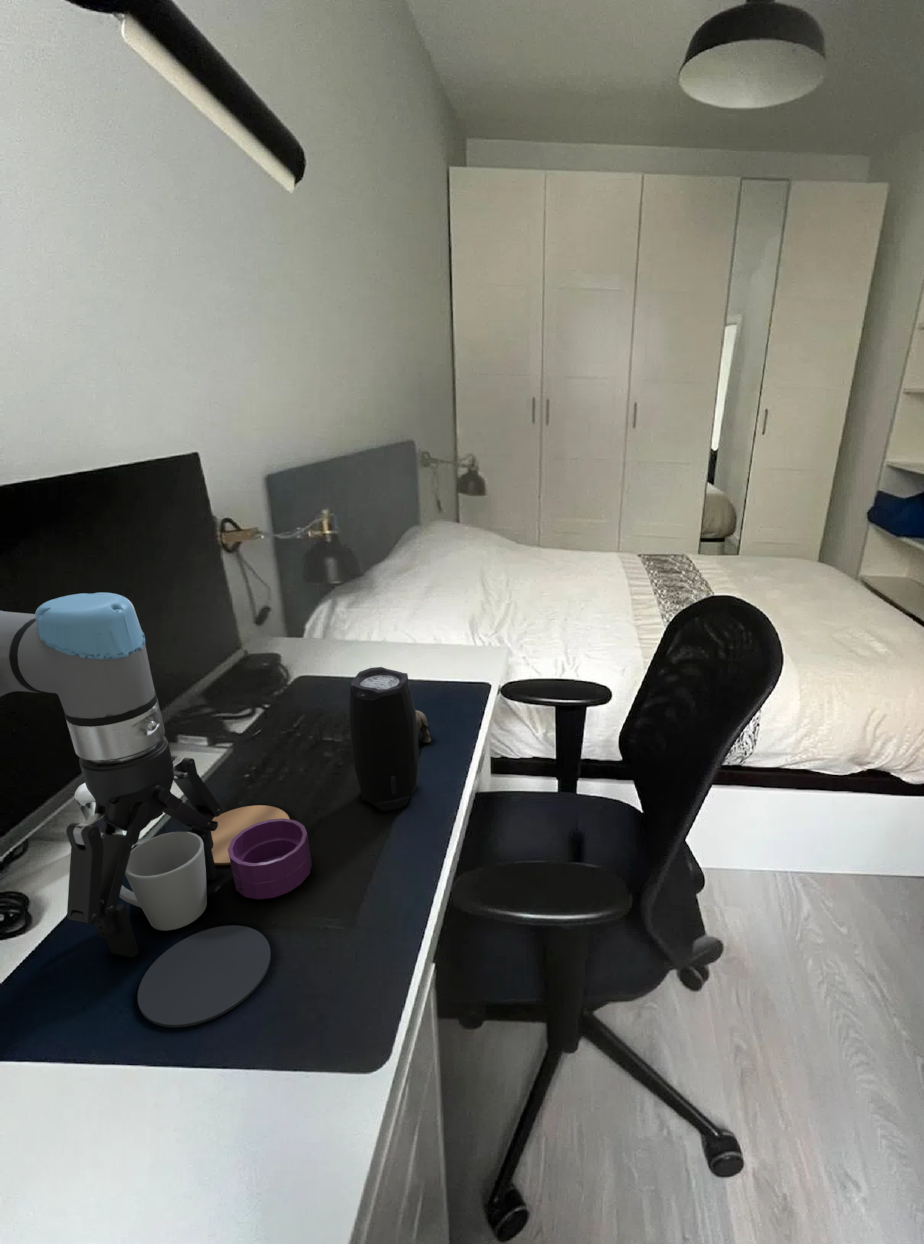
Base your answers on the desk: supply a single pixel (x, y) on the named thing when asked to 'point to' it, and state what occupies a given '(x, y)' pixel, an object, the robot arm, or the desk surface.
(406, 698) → the portable speaker
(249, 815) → the wooden coaster
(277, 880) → the plum bowl
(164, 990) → the slate coaster
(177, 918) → the cup
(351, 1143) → the desk surface
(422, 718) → the rhino figurine
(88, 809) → the milkshake
